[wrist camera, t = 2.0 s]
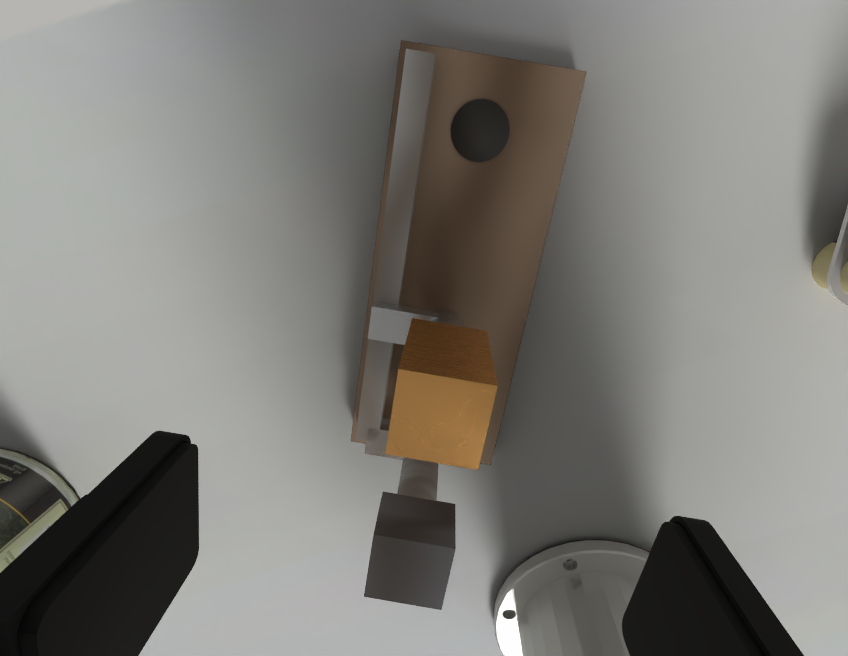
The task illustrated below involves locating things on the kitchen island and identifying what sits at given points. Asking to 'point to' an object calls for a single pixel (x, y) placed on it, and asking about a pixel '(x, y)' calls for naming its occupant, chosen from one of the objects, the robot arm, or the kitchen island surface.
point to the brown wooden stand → (456, 261)
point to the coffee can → (28, 502)
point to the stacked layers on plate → (834, 265)
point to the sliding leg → (437, 385)
